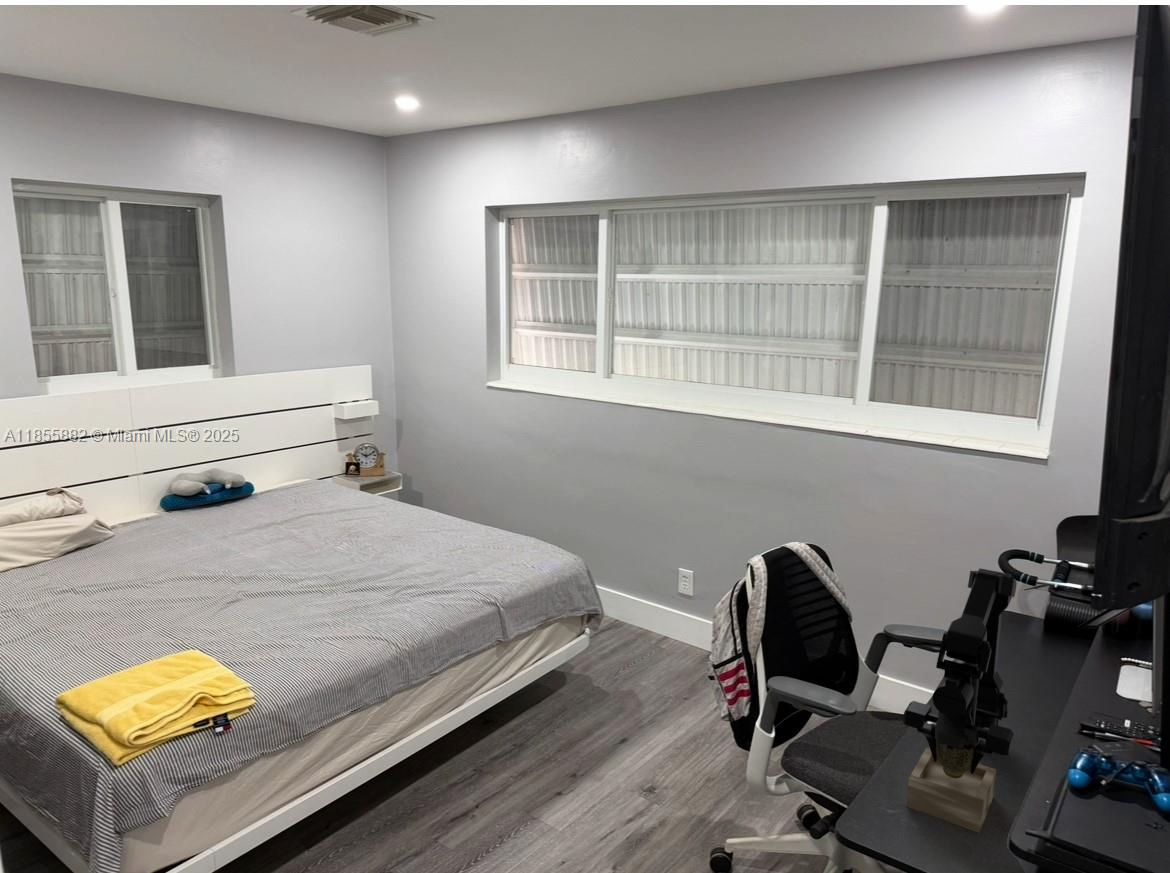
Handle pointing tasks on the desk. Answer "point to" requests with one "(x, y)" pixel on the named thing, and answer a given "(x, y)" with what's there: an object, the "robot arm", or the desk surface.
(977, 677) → the robot arm
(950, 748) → the cup
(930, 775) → the wooden box
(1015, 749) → the desk surface
